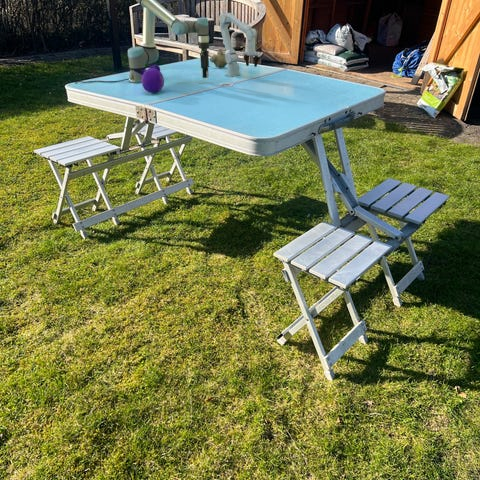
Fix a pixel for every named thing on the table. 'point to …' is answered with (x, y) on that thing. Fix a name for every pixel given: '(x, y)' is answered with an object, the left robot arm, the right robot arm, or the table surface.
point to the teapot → (219, 59)
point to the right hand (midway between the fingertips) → (251, 66)
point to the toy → (152, 79)
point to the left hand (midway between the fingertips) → (205, 76)
